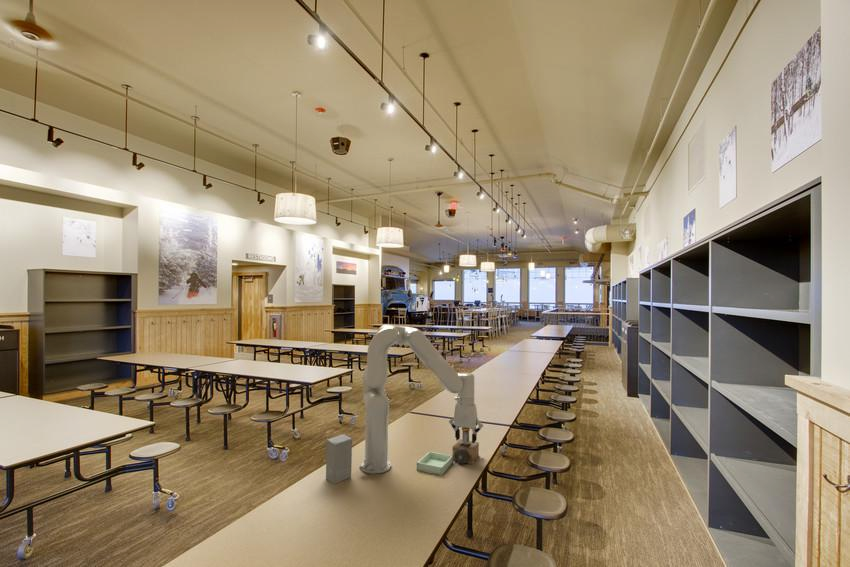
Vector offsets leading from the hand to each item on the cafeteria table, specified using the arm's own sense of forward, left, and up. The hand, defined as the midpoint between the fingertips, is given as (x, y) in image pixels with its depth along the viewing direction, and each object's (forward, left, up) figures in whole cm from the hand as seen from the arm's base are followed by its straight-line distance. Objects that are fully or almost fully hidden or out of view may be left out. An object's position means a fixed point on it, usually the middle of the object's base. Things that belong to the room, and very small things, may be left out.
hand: (465, 440), depth 173 cm
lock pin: (0, 0, -8) cm, 8 cm away
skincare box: (-41, +39, -8) cm, 57 cm away
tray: (-14, +9, -8) cm, 18 cm away
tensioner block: (-1, 0, -8) cm, 8 cm away
